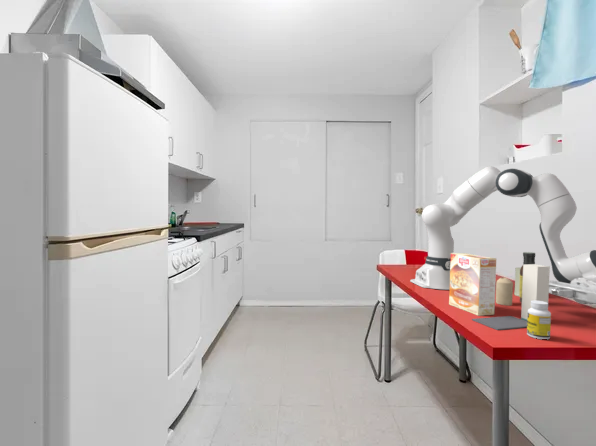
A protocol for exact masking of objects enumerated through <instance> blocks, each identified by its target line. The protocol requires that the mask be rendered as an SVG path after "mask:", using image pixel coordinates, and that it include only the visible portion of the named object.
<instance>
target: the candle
mask: <svg viewBox="0 0 596 446" xmlns="http://www.w3.org/2000/svg"><path fill="white" fill-rule="evenodd" d="M513 291H514V282H513V280H510V279H509V278H507V277H500V278H498V279H496V283H495V304H497V305H501V306H513V296H514V292H513Z"/></svg>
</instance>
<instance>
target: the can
mask: <svg viewBox="0 0 596 446" xmlns="http://www.w3.org/2000/svg"><path fill="white" fill-rule="evenodd" d="M520 268H521V267H515V271H514V272H515V274H514V279H515V280H514V292H513V296H516V297H519V285H520Z"/></svg>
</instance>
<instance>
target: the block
mask: <svg viewBox="0 0 596 446" xmlns="http://www.w3.org/2000/svg"><path fill="white" fill-rule="evenodd" d="M522 265H523V264H522ZM550 269H551V268H550V265H549V266H548V265H543V264H537V263H535V264H524V265H523V286H522V303H521V310H520V311H521V313H520V316H521V317H520V319H522V320H525V321H527V318H528V309H530V308H532V307H531V301H533V300H537V301H544V302H547V303H548V304H549V295H550V293H549V281H550V272H551V270H550ZM547 310H548V311H549V308H548V309H547Z"/></svg>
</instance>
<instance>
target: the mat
mask: <svg viewBox="0 0 596 446" xmlns="http://www.w3.org/2000/svg"><path fill="white" fill-rule="evenodd" d="M471 321H473V322H476V323H478V324H480V325H483V326H485V327H488V328H491V329H494V330H497V331H503V330H504V331H505V330H514V329H525V328H526V329H527V321H526V320H523V319H521V318H519V317H516V316H512V315H506V316H492V317H491V316H490V317H479V318H478V317H477V318H471Z"/></svg>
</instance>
